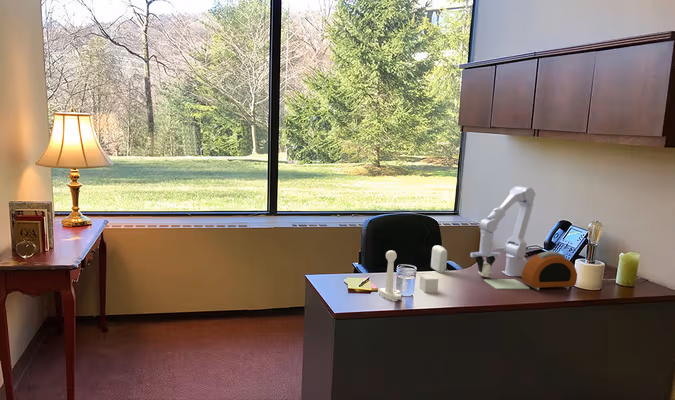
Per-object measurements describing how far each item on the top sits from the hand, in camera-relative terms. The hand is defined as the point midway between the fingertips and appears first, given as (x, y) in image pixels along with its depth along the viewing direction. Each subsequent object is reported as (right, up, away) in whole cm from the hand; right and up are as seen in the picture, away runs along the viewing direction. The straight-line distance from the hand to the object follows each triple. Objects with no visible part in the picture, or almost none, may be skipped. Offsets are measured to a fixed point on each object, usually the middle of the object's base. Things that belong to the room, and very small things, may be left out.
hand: (483, 271), depth 250 cm
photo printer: (-20, -1, +10) cm, 23 cm away
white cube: (-31, -5, -22) cm, 38 cm away
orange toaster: (+27, -6, -10) cm, 29 cm away
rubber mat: (+8, -5, -9) cm, 13 cm away
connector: (0, -2, -1) cm, 2 cm away
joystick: (-48, -6, -33) cm, 59 cm away
